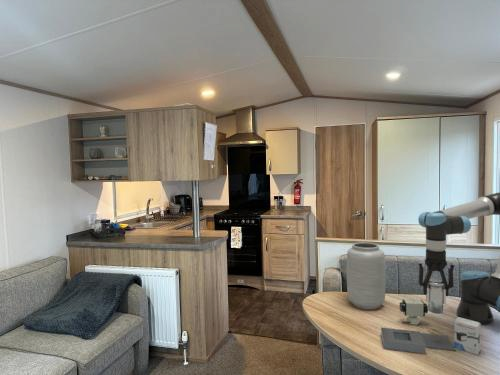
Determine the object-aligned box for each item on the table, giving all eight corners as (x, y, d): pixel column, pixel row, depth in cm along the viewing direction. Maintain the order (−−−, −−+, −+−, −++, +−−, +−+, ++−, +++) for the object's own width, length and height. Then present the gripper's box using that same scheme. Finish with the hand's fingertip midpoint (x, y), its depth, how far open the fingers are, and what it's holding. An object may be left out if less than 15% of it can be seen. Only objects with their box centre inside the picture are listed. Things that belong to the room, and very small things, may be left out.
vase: (341, 299, 193) (340, 242, 191) (372, 295, 196) (372, 240, 194) (358, 313, 173) (357, 250, 171) (393, 309, 176) (393, 247, 175)
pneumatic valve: (428, 326, 157) (428, 301, 157) (401, 324, 160) (401, 300, 159) (424, 321, 163) (424, 297, 162) (399, 319, 165) (398, 296, 164)
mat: (447, 336, 147) (447, 335, 147) (455, 351, 136) (455, 349, 136) (417, 333, 151) (417, 332, 151) (423, 347, 139) (423, 346, 139)
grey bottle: (442, 308, 145) (442, 279, 144) (446, 315, 138) (446, 284, 137) (425, 307, 147) (425, 278, 146) (428, 313, 140) (428, 283, 139)
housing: (419, 339, 146) (419, 331, 146) (425, 353, 134) (425, 345, 134) (381, 334, 151) (381, 327, 150) (383, 348, 139) (383, 340, 139)
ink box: (453, 347, 138) (453, 320, 138) (456, 343, 142) (456, 316, 141) (477, 355, 132) (478, 326, 132) (480, 350, 136) (480, 322, 135)
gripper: (457, 248, 142) (457, 300, 143) (410, 246, 147) (410, 297, 149) (463, 252, 135) (463, 307, 136) (413, 250, 140) (413, 303, 141)
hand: (435, 302), depth 142 cm, fingers closed on grey bottle, 6 cm apart
